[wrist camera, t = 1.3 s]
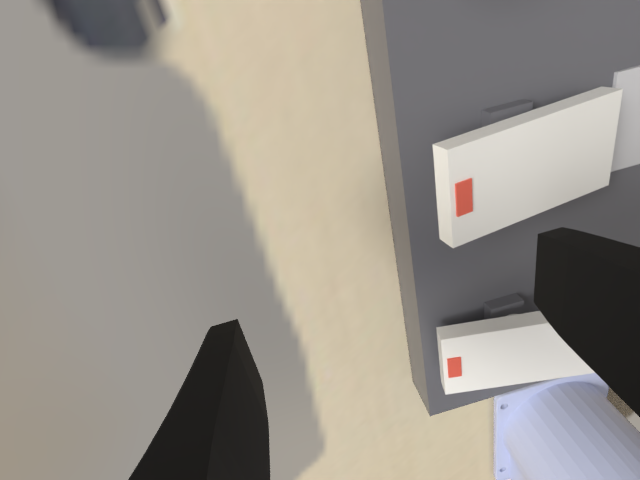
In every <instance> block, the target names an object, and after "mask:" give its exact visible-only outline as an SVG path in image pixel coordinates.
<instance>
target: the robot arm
mask: <svg viewBox="0 0 640 480" xmlns="http://www.w3.org/2000/svg"><path fill="white" fill-rule="evenodd" d="M534 303H535V305H536V306H537V307H538V309H539V310H540V312H541V313H542V314H543V316H544V317H545V318H546V320H547V321H548V322H549V324H550V325H551V326H552V327H553V329H554V330H555V331H556V332H557V334H558V335H559V336H560V337H561V338H562V339H563V340H564V341H565V343H566V344H567V345H568V346H569V347H570V348H571V349H572V350H573V351H574V352H575V353H576V354H577V355H578V356H579V357H580V358H581V359H582V360H583V361H584V362H585V363H586V364H587V365H588V366H589V367H590V368H591V369H592V370H593V371H594V372H595V373H591V374H584V375H577V376H570V377H564V378H557V379H550V380H546V381H543V382H540V383H537V384H533V385H530V386H527V387H524V388H520V389H517V390H514V391H510V392H507V393H504V394H501V395H497V396H495V397H494V477H495V479H496V480H507V479H511V480H640V432H639V431H638V430H637V429H636V428H635V427H634V426H633V425H632V424H631V423H630V422H629V421H628V420H627V419H626V418H625V417H624V416H623V415H622V414H621V413H620V412H619V411H618V410H617V409H616V408H615V407H614V406H613V405H612V404H611V402H610V401H609V400H608V399H607V395H608V390H609V387H610V388H611V389H612V390H613V391H614V392H615V393H616V394H617V395H618V396H619V397H620V398H621V399H622V400H623V401H624V402H625V403H626V404H627V405H628V406H629V407H630V408H631V409H632V410H633V411H634V412H635V413H636V414H637V415H638V416H639V417H640V247H637V246H633V245H630V244H626V243H623V242H619V241H616V240H612V239H609V238H605V237H601V236H598V235H594V234H590V233H587V232H583V231H578V230H574V229H569V228H565V227H560V228H557V229H553V230H550V231H546V232H543V233H539V234H538V238H537V254H536V270H535V286H534ZM129 480H270V456H269V428H268V417H267V410H266V403H265V396H264V389H263V383H262V380H261V377H260V375H259V372H258V369H257V367H256V364H255V362H254V360H253V357H252V355H251V352H250V349H249V347H248V344H247V342H246V340H245V337H244V335H243V332H242V329H241V327H240V324H239V322H238V319H236V320H233V321H229V322H226V323H222V324H219V325H216V326H212V327H211V328H210V329H209V331H208V332H207V335H206V337H205V339H204V341H203V344H202V345H201V347H200V350H199V352H198V354H197V356H196V358H195V360H194V363H193V365H192V367H191V369H190V371H189V373H188V375H187V377H186V379H185V381H184V383H183V385H182V387H181V389H180V391H179V393H178V395H177V397H176V399H175V400H174V403H173V404H172V406H171V409H170V410H169V412H168V414H167V416H166V417H165V419H164V421H163V423H162V424H161V426H160V428H159V430H158V431H157V433H156V435H155V436H154V438H153V440H152V442H151V444H150V445H149V447H148V449H147V450H146V452H145V454H144V455H143V457H142V459H141V460H140V462H139V464H138V465H137V467H136V468H135V470H134V472H133V473H132V475H131V476H130V478H129Z"/></svg>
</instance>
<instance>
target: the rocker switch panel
mask: <svg viewBox="0 0 640 480" xmlns="http://www.w3.org/2000/svg"><path fill="white" fill-rule="evenodd" d="M360 2H361V9H362V16H363V24H364V31H365V38H366V45H367V52H368V60H369V67H370V74H371V81H372V89H373V96H374V103H375V110H376V118H377V125H378V132H379V139H380V147H381V154H382V161H383V168H384V175H385V183H386V190H387V197H388V204H389V212H390V219H391V226H392V233H393V241H394V248H395V255H396V262H397V270H398V277H399V284H400V291H401V298H402V306H403V313H404V320H405V327H406V335H407V342H408V349H409V356H410V364H411V371H412V378H413V382H414V385H415V387H416V389H417V391H418V393H419V395H420V397H421V399H422V401H423V403H424V405H425V407H426V409H427V411H428V413H429V415H430V416H432V415H435V414H439V413H442V412H445V411H448V410H452V409H455V408H458V407H461V406H465V405H468V404H471V403H474V402H478V401H481V400H484V399H488V398H491V397H494V396H497V395H501V394H504V393H507V392H510V391H514V390H517V389H520V388H524V387H527V386H530V385H533V384H537V383H540V382H543V381H546V380H543V381H536V382H529V383H522V384H515V385H509V386H502V387H495V388H488V389H481V390H474V391H467V392H460V393H453V394H447V395H445V392H444V389H443V386H442V383H441V375H440V364H439V352H438V341H437V330H436V327H442V326H448V325H454V324H461V323H467V322H473V321H479V320H485V319H492V318H498V317H504V316H507V315H509V314H523V313H529V312H535V311H540V310H539V309H538V307H537V306H536V305H535V303H534V286H535V270H536V254H537V238H538V234H539V233H543V232H546V231H550V230H553V229H557V228H560V227H565V228H569V229H574V230H578V231H583V232H587V233H590V234H594V235H598V236H601V237H605V238H609V239H612V240H616V241H619V242H623V243H626V244H630V245H633V246H637V247H640V0H360ZM601 86H602V87H611V88H620V89H623V92H622V99H621V106H620V112H619V119H618V126H617V132H616V139H615V146H614V153H613V159H612V166H611V173H610V179H609V185H608V186H605V187H603V188H600V189H598V190H595V191H593V192H590V193H588V194H586V195H583V196H581V197H578V198H576V199H573V200H571V201H568V202H566V203H563V204H561V205H558V206H556V207H554V208H551V209H549V210H546V211H544V212H541V213H539V214H536V215H534V216H531V217H529V218H527V219H524V220H522V221H519V222H517V223H514V224H512V225H509V226H507V227H504V228H502V229H499V230H497V231H495V232H492V233H490V234H487V235H485V236H482V237H480V238H477V239H475V240H472V241H470V242H467V243H465V244H463V245H460V246H458V247H455V248H452V247H450V246H449V245H447V244H446V243H445V242H443V241H442V240H440V238H439V225H438V211H437V198H436V184H435V171H434V157H433V144H435V143H438V142H441V141H444V140H446V139H449V138H452V137H455V136H458V135H461V134H464V133H467V132H470V131H473V130H476V129H479V128H482V127H484V126H487V125H490V124H493V123H496V122H499V121H502V120H505V119H508V118H511V117H514V116H517V115H520V114H522V113H525V112H528V111H531V110H534V109H537V108H540V107H543V106H546V105H549V104H552V103H555V102H558V101H561V100H563V99H566V98H569V97H572V96H575V95H578V94H581V93H584V92H587V91H590V90H593V89H596V88H599V87H601Z"/></svg>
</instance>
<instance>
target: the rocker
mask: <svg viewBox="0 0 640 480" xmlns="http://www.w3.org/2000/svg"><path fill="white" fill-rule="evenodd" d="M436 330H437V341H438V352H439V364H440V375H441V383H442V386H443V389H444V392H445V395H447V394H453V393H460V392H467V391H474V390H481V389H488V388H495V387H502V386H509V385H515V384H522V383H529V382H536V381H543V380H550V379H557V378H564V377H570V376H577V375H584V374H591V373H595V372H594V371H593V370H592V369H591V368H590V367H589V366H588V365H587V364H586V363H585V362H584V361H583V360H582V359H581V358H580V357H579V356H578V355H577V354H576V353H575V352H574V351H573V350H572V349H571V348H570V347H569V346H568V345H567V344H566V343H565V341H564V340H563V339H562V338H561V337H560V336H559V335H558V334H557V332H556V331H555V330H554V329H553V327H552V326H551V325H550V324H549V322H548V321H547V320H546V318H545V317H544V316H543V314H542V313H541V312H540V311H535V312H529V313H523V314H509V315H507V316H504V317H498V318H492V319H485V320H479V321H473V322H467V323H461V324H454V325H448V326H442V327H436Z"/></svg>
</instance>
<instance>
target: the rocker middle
mask: <svg viewBox="0 0 640 480" xmlns="http://www.w3.org/2000/svg"><path fill="white" fill-rule="evenodd" d="M622 92H623V89H620V88H611V87H602V86H601V87H599V88H596V89H593V90H590V91H587V92H584V93H581V94H578V95H575V96H572V97H569V98H566V99H563V100H561V101H558V102H555V103H552V104H549V105H546V106H543V107H540V108H537V109H534V110H531V111H528V112H525V113H522V114H520V115H517V116H514V117H511V118H508V119H505V120H502V121H499V122H496V123H493V124H490V125H487V126H484V127H482V128H479V129H476V130H473V131H470V132H467V133H464V134H461V135H458V136H455V137H452V138H449V139H446V140H444V141H441V142H438V143H435V144H433V157H434V171H435V184H436V198H437V211H438V225H439V238H440V240H442V241H443V242H445V243H446V244H447V245H449V246H450V247H452V248H455V247H458V246H460V245H463V244H465V243H467V242H470V241H472V240H475V239H477V238H480V237H482V236H485V235H487V234H490V233H492V232H495V231H497V230H499V229H502V228H504V227H507V226H509V225H512V224H514V223H517V222H519V221H522V220H524V219H527V218H529V217H531V216H534V215H536V214H539V213H541V212H544V211H546V210H549V209H551V208H554V207H556V206H558V205H561V204H563V203H566V202H568V201H571V200H573V199H576V198H578V197H581V196H583V195H586V194H588V193H590V192H593V191H595V190H598V189H600V188H603V187H605V186H608V185H609V179H610V173H611V166H612V159H613V153H614V146H615V139H616V132H617V126H618V119H619V112H620V106H621V99H622Z"/></svg>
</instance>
